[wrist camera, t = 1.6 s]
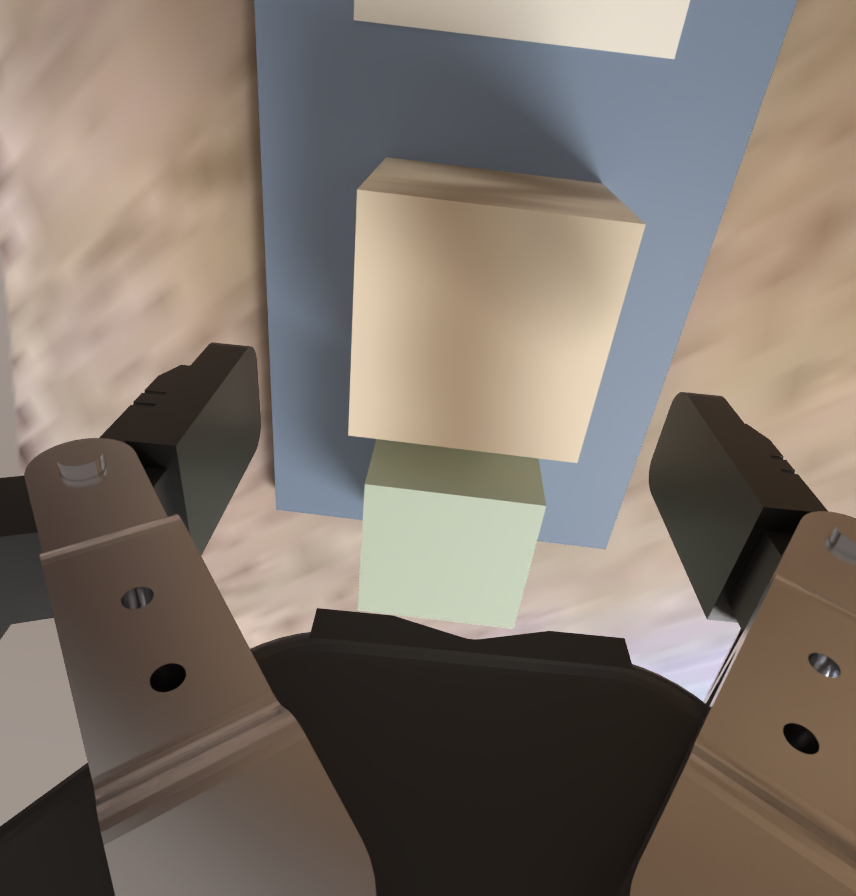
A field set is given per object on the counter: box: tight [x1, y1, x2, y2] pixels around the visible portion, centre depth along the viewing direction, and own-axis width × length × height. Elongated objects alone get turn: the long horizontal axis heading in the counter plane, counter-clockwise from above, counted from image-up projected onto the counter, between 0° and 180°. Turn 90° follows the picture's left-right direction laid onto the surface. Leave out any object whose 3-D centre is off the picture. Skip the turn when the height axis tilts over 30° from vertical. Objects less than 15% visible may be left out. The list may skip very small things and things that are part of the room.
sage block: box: [358, 439, 546, 629], centre depth 20 cm, size 5×5×5 cm
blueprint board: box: [254, 0, 797, 549], centre depth 17 cm, size 13×26×1 cm, turn 174°
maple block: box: [348, 157, 646, 463], centre depth 16 cm, size 6×6×5 cm
